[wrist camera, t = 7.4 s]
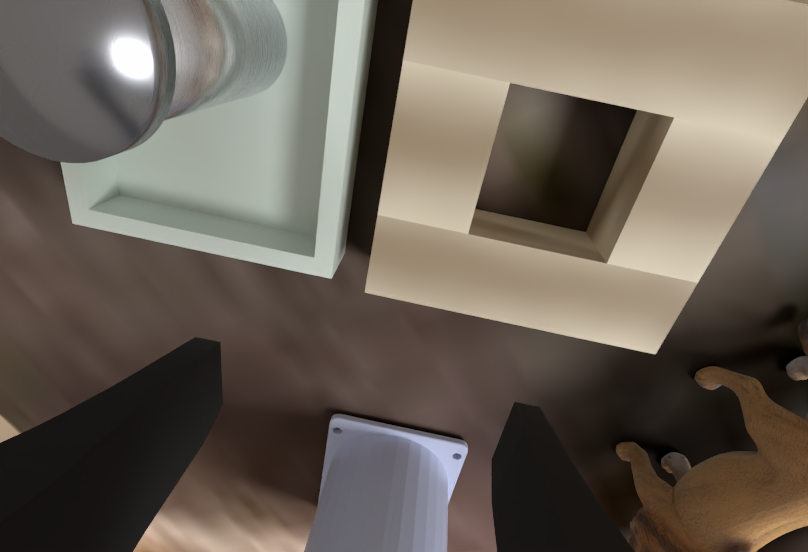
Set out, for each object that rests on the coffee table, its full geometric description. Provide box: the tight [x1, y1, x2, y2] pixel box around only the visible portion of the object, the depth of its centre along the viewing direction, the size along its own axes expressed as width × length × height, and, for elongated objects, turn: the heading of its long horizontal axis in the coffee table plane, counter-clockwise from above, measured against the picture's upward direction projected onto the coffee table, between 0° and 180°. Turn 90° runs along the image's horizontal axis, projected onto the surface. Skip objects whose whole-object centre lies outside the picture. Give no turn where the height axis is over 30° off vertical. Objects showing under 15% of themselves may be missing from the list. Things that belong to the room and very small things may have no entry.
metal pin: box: [0, 0, 287, 163], centre depth 12 cm, size 5×5×9 cm
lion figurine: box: [616, 317, 808, 552], centre depth 19 cm, size 15×5×9 cm, turn 161°
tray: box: [61, 0, 378, 279], centre depth 16 cm, size 16×11×2 cm
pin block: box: [365, 0, 808, 354], centre depth 16 cm, size 12×12×3 cm
